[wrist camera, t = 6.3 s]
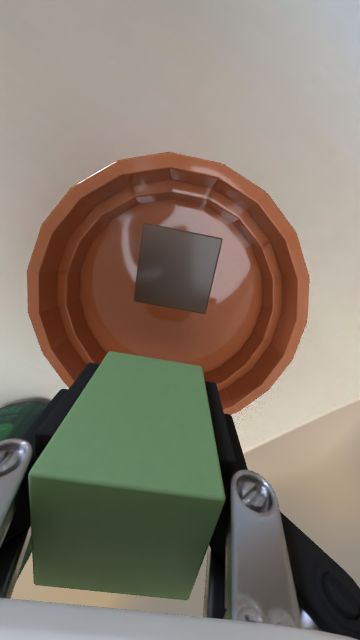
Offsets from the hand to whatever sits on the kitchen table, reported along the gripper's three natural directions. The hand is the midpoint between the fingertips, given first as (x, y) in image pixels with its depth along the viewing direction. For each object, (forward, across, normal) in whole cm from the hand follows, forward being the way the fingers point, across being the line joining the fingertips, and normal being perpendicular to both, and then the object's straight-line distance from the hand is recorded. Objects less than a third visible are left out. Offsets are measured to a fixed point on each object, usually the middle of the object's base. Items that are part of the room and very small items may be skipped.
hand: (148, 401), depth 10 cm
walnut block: (+9, 0, -5) cm, 11 cm away
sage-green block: (0, 0, 0) cm, 0 cm away
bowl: (+10, 0, -2) cm, 10 cm away
